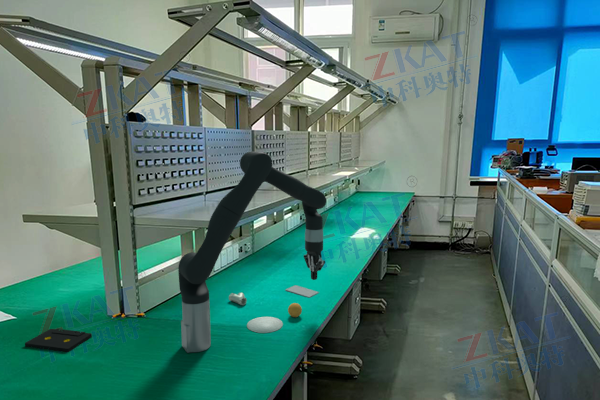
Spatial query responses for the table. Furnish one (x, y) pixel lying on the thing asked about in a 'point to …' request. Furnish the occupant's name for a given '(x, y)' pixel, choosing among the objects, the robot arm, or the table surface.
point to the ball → (294, 310)
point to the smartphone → (302, 291)
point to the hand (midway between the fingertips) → (314, 279)
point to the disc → (264, 324)
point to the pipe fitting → (238, 298)
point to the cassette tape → (58, 340)
